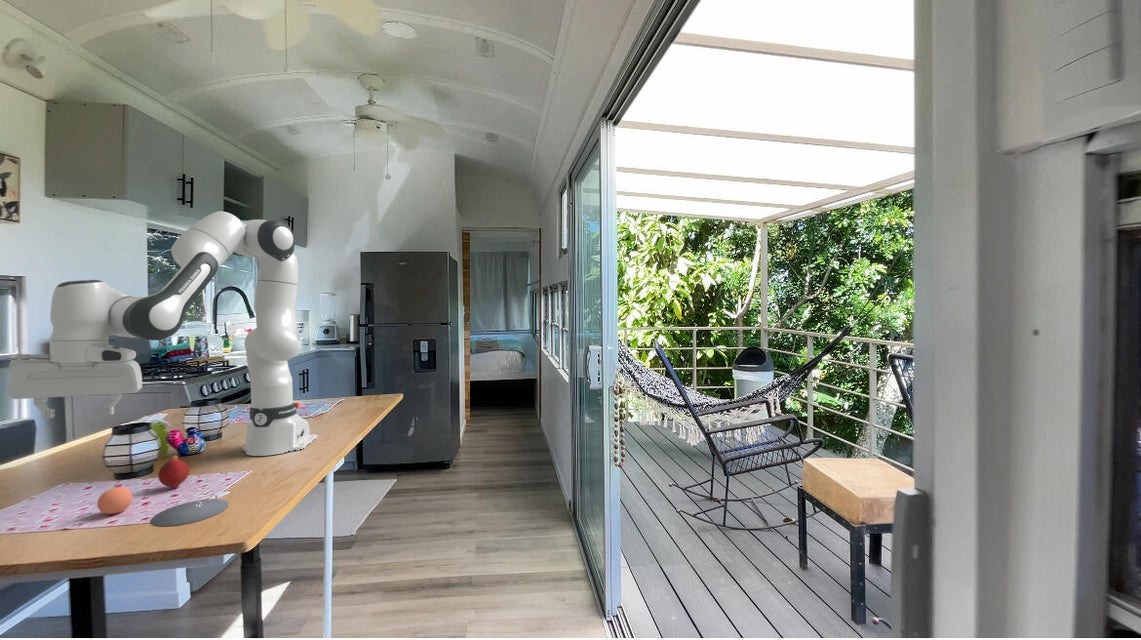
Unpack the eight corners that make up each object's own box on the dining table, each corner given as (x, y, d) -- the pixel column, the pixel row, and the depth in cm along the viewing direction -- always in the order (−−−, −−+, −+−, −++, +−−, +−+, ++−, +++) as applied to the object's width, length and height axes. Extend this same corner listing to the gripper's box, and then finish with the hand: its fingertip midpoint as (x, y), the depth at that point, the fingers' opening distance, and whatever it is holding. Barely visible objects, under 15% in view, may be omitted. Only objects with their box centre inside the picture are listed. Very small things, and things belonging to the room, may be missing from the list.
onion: (171, 493, 112) (170, 460, 111) (152, 491, 113) (151, 459, 113) (195, 484, 117) (194, 453, 117) (177, 482, 118) (176, 451, 118)
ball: (115, 507, 104) (114, 483, 104) (139, 507, 104) (139, 483, 104) (89, 518, 98) (89, 493, 98) (116, 518, 98) (115, 492, 98)
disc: (186, 500, 108) (186, 499, 108) (242, 499, 108) (242, 498, 108) (133, 526, 95) (133, 525, 95) (197, 526, 95) (197, 525, 95)
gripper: (1, 355, 93) (0, 424, 93) (137, 353, 104) (136, 414, 104) (17, 353, 99) (16, 418, 99) (144, 351, 109) (143, 409, 109)
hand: (78, 416), depth 101 cm, fingers open, 8 cm apart
